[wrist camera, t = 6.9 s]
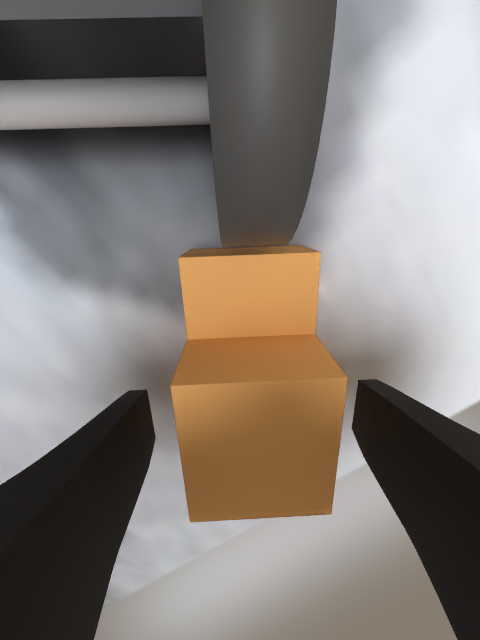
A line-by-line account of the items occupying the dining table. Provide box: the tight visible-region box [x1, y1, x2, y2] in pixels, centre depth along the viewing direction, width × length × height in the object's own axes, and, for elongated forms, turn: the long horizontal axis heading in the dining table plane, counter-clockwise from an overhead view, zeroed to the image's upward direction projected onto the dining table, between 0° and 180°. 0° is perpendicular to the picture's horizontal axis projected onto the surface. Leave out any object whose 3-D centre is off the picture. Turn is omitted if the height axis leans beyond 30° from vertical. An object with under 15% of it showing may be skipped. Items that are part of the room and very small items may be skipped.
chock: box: [170, 245, 348, 522], centre depth 9 cm, size 7×4×5 cm, turn 2°
